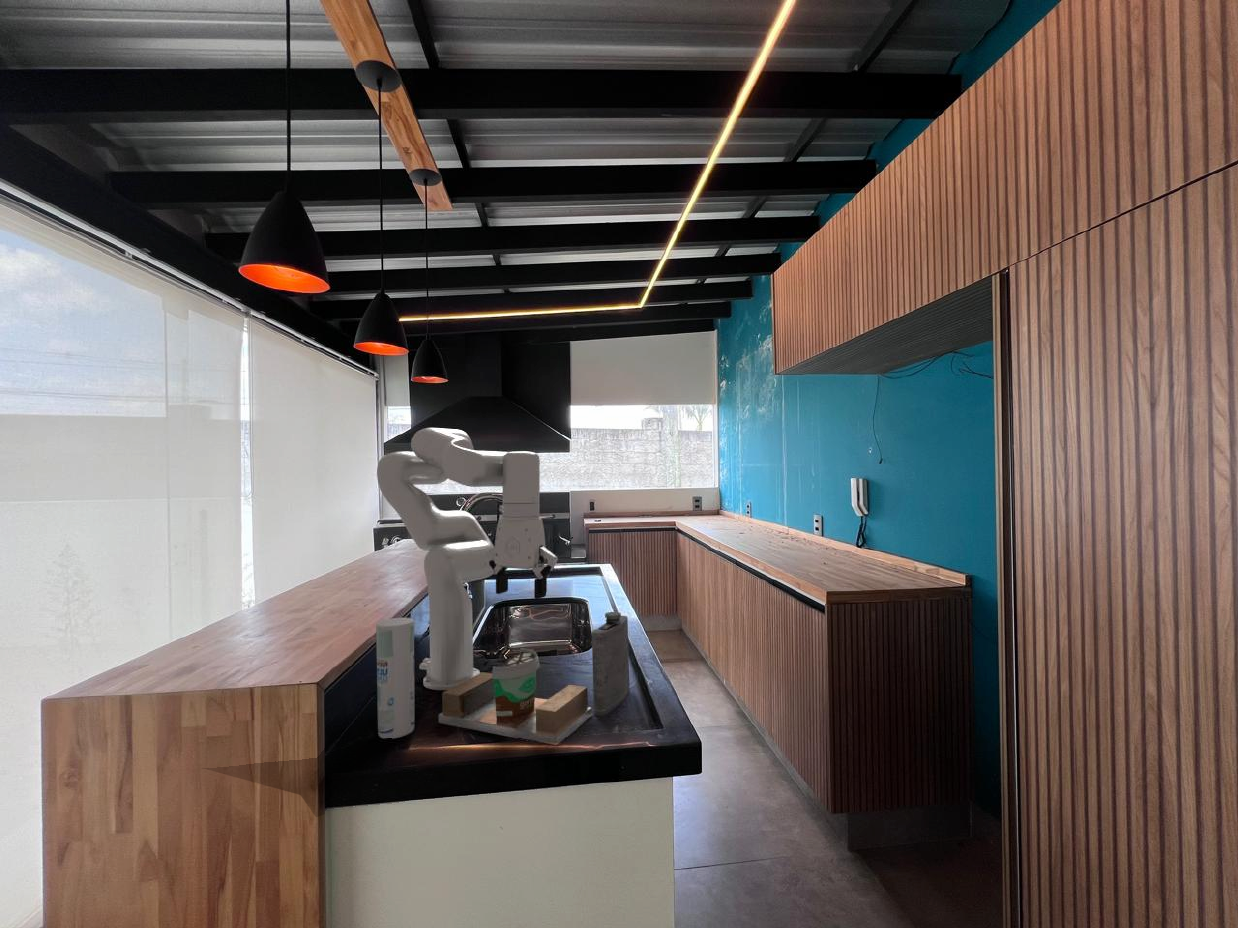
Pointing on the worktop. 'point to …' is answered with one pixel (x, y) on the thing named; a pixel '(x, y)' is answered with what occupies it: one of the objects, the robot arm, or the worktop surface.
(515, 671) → the food container
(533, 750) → the worktop surface
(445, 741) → the worktop surface
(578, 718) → the wooden u-shaped base
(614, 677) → the flask
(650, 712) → the worktop surface
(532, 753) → the worktop surface
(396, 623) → the spray can
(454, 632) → the robot arm
